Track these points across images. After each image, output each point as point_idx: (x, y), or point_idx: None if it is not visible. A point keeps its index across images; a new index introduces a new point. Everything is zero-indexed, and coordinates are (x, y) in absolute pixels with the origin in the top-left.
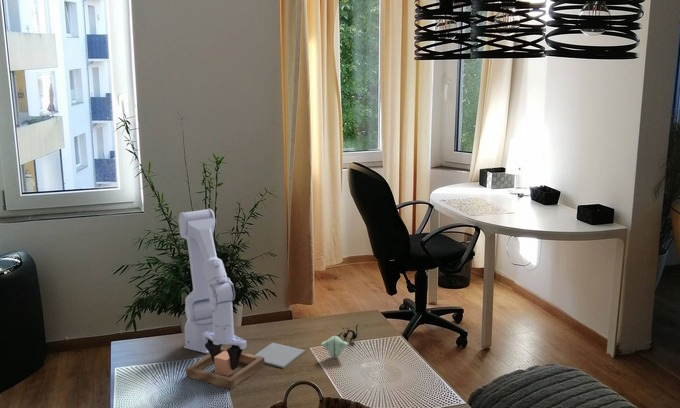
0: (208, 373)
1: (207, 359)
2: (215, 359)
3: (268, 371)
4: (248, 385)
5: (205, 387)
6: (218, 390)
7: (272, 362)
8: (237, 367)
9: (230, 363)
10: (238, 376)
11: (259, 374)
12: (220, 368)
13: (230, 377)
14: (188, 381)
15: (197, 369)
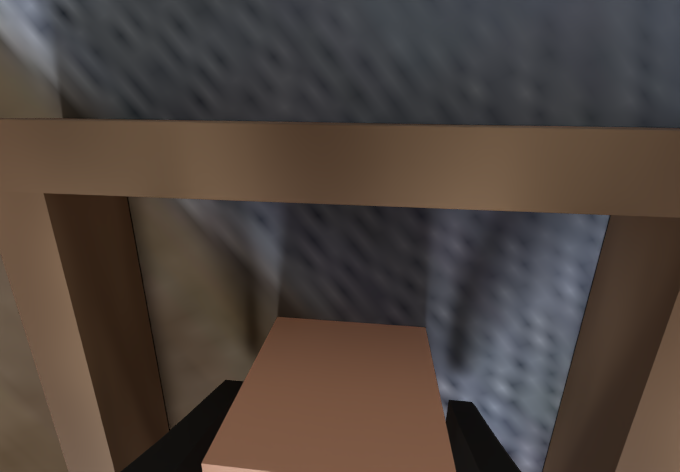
0: (362, 163)
1: (609, 464)
2: (428, 454)
3: None
4: None
5: (319, 16)
6: (147, 33)
7: None
8: None
9: (199, 435)
10: (17, 269)
11: None
12: (350, 361)
13: (38, 198)
14: (614, 38)
15: (603, 197)
